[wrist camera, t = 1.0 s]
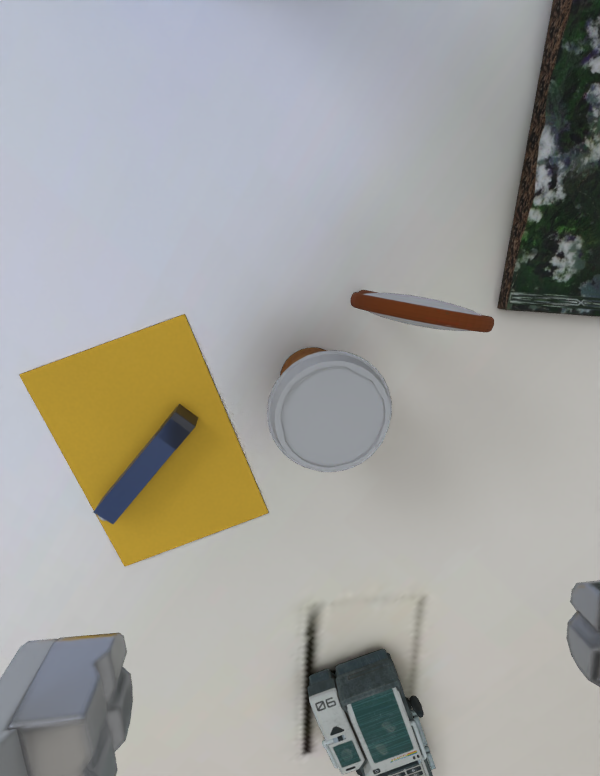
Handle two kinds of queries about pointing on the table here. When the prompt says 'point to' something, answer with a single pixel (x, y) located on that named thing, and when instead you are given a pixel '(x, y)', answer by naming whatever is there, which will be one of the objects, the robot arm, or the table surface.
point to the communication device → (369, 719)
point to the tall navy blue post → (146, 464)
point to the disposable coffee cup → (329, 409)
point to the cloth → (148, 437)
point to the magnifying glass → (421, 311)
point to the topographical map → (561, 176)
